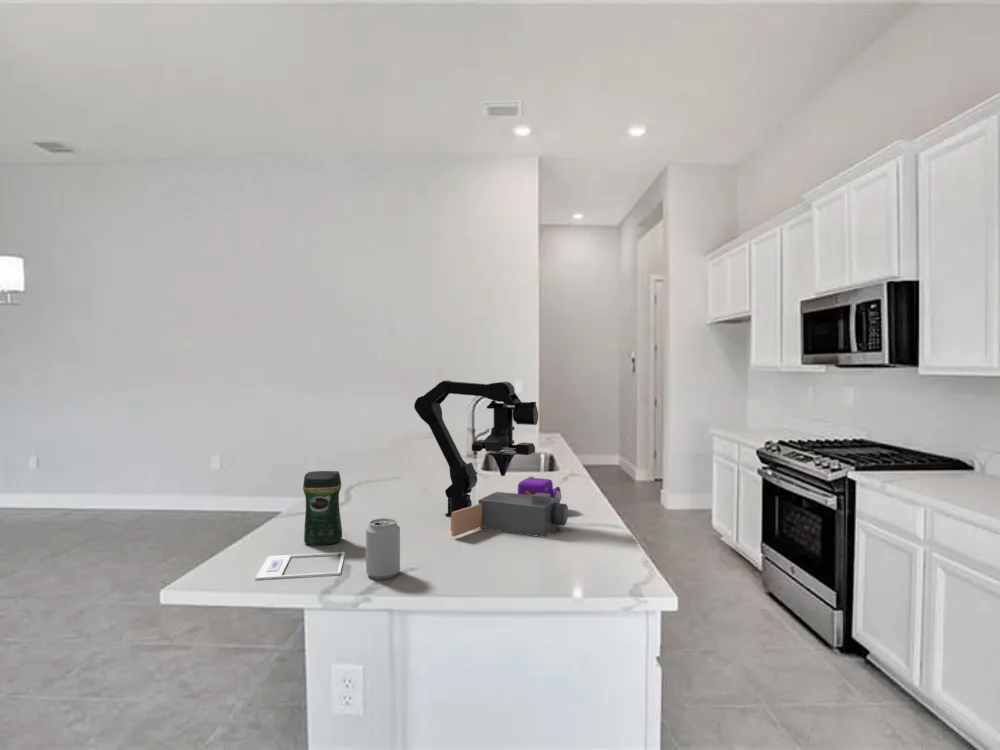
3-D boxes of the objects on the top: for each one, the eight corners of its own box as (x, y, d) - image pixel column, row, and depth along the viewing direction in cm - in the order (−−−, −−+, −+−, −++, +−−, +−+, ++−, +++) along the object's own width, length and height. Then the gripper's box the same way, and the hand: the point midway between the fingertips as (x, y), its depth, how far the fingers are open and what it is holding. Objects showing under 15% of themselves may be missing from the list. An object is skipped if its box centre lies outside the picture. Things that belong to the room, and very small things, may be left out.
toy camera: (559, 515, 188) (560, 483, 188) (516, 513, 191) (516, 481, 190) (563, 507, 199) (563, 476, 198) (521, 504, 201) (521, 474, 201)
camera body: (478, 527, 174) (478, 494, 173) (496, 518, 185) (497, 486, 184) (554, 538, 164) (554, 503, 164) (569, 527, 175) (569, 494, 174)
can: (368, 568, 140) (368, 516, 140) (401, 567, 141) (401, 516, 140) (363, 580, 133) (363, 525, 132) (398, 579, 133) (398, 525, 133)
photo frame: (268, 555, 147) (344, 551, 151) (268, 559, 148) (344, 555, 151) (255, 577, 133) (340, 571, 136) (255, 582, 133) (340, 576, 136)
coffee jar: (344, 536, 165) (343, 468, 165) (338, 545, 158) (338, 473, 157) (307, 537, 165) (307, 468, 164) (300, 546, 157) (299, 474, 156)
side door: (478, 525, 174) (478, 502, 174) (482, 526, 173) (482, 503, 172) (449, 535, 164) (449, 511, 163) (454, 536, 163) (454, 512, 162)
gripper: (462, 425, 180) (462, 477, 180) (520, 428, 172) (520, 483, 172) (480, 421, 190) (480, 471, 190) (535, 424, 182) (535, 476, 182)
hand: (502, 475), depth 183 cm, fingers closed
